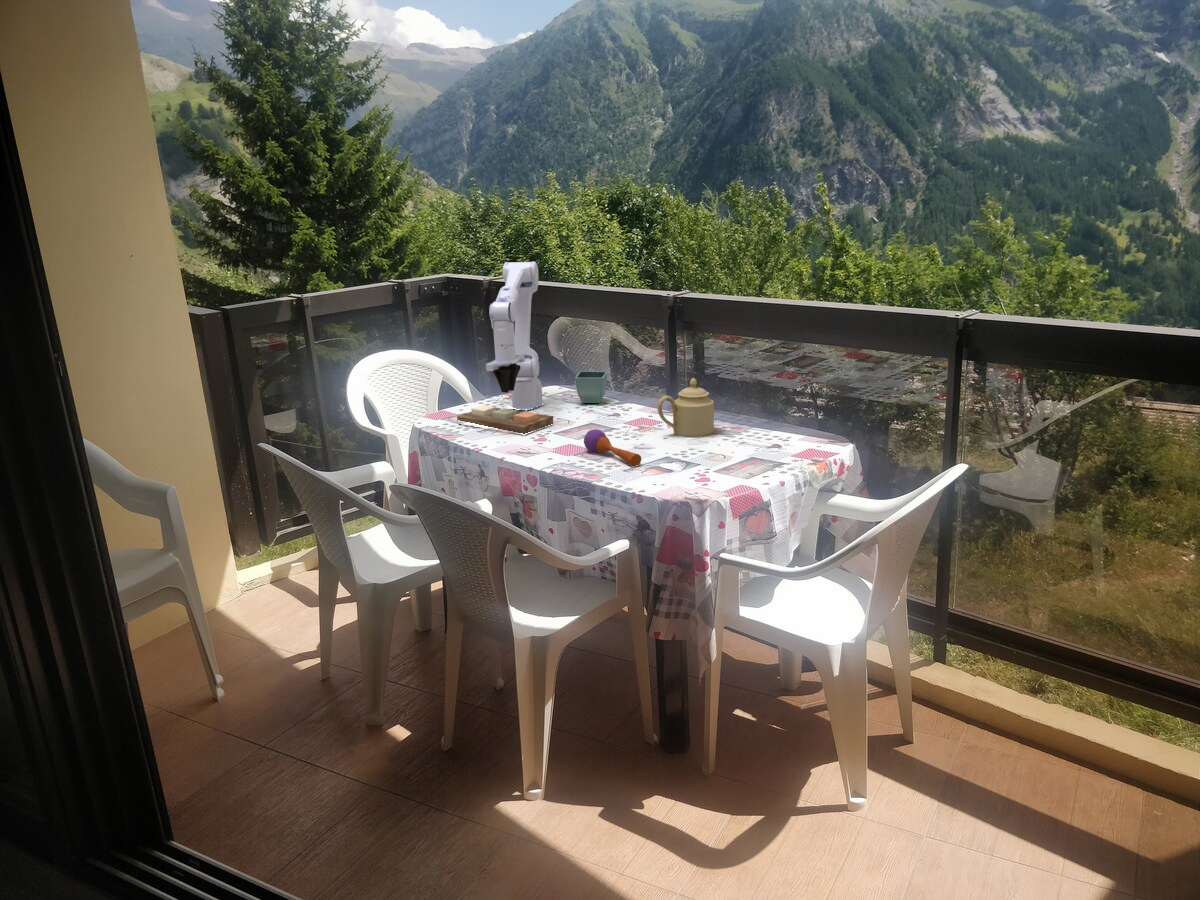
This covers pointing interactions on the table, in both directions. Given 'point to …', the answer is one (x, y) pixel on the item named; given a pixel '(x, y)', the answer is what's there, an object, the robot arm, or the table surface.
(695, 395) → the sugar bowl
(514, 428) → the button panel
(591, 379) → the flower pot
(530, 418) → the terracotta button
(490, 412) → the cream button
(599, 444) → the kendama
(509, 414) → the sage button
